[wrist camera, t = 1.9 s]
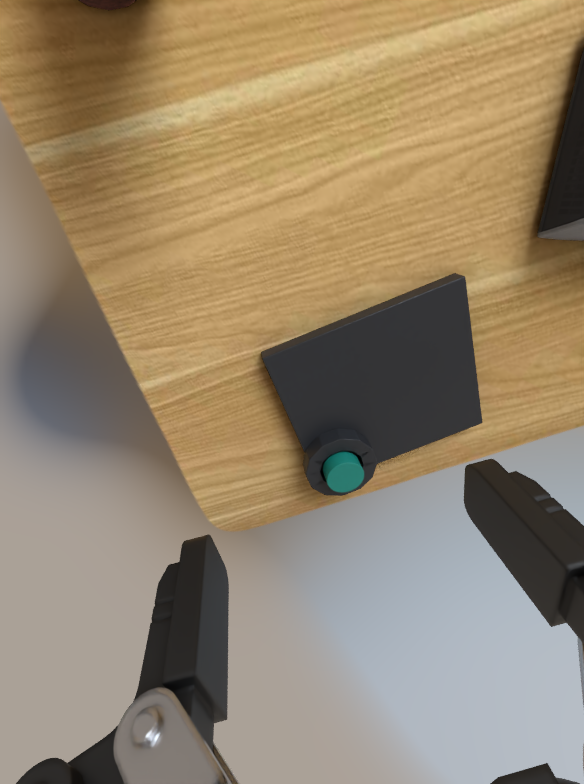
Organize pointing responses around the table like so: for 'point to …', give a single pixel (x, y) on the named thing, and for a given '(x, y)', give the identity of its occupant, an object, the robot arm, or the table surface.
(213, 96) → the table surface
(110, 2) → the can
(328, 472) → the button
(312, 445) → the scale
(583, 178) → the hard drive
